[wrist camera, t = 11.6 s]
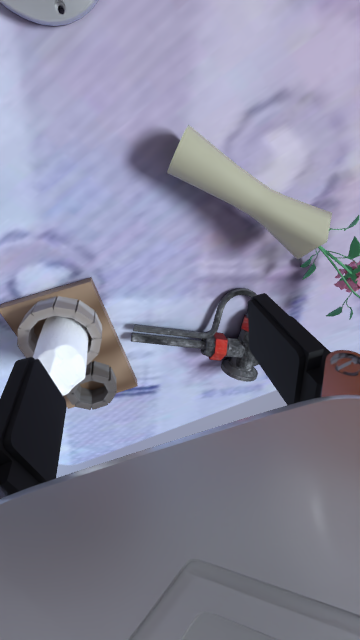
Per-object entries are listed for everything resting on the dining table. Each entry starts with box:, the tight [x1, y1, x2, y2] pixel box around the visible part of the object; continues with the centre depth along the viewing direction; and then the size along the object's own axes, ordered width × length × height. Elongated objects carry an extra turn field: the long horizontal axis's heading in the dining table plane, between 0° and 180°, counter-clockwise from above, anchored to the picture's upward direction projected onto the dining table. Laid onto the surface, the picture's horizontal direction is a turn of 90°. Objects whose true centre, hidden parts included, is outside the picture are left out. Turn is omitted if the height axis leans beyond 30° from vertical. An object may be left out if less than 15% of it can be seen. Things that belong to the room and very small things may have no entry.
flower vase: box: [167, 125, 360, 320], centre depth 35 cm, size 12×12×35 cm
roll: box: [33, 316, 89, 395], centre depth 32 cm, size 6×12×6 cm
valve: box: [131, 288, 259, 381], centre depth 43 cm, size 6×26×15 cm
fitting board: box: [0, 278, 137, 410], centre depth 39 cm, size 20×12×4 cm, turn 13°
